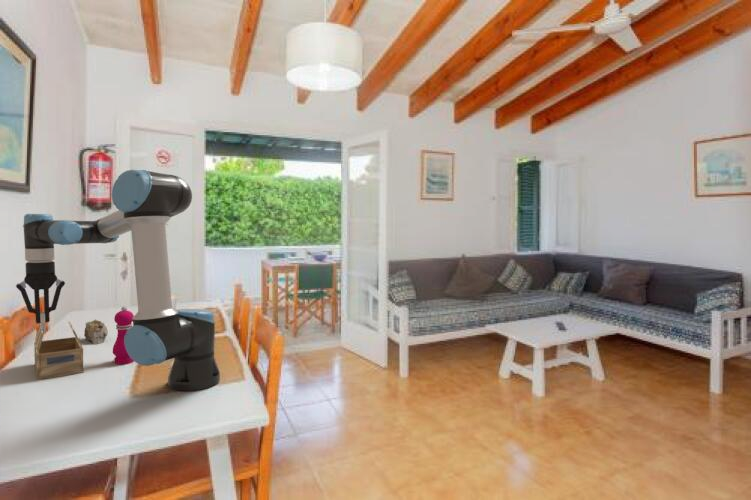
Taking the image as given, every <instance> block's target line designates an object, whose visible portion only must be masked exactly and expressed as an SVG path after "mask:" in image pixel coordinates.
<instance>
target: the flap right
mask: <svg viewBox="0 0 751 500" xmlns="http://www.w3.org/2000/svg"><path fill="white" fill-rule="evenodd" d="M67 323H68V325H69V327H70V329H71V332H73V335H74V337H76V339H77V341H78V343H79V344H80V346H82V347H83V345H82V344H81V343H82V342H81V341H80V339H79V337H78V335H77V333H76V331H75V328H74V327H73V325H72V324H71V321H68V322H67Z"/></svg>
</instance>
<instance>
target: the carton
mask: <svg viewBox="0 0 751 500" xmlns="http://www.w3.org/2000/svg"><path fill="white" fill-rule="evenodd" d="M33 343H34V345H33V346H34V369H35V374H36V380H37V381H39V380H40V379H41V380H46V379H51V378H57V377H58V378H59V377H64V376H69V375H76V374H81V373H84V347H83V345H82V346H80V344H79V343H78V341H77V339H76V337H75V336H72V337H65V338H64V337H63V338H56V339H48V340H42V343H41V346H40V350H39V352H37V347H36V342H35V341H34V342H33Z"/></svg>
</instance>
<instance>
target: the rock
mask: <svg viewBox="0 0 751 500" xmlns="http://www.w3.org/2000/svg"><path fill="white" fill-rule="evenodd" d="M83 332H84V334H83V337H84V338H85V340H87V341H89V342H91V343H92V344H93V345H98V344H101V343H103V342H104V341H105V340H106V338H107V336H108V335H109V334H108V327H107V326H106V325H105V323H103V322H102V321H101V320H98V319H94V320H92V321H87V322H86V323H85V328H84V331H83Z"/></svg>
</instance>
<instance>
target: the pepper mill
mask: <svg viewBox="0 0 751 500" xmlns="http://www.w3.org/2000/svg"><path fill="white" fill-rule="evenodd" d="M134 316H135V315H134V314H133V312H132V311H130V310H128V307H127V306H124V305H123V306H121V310H120V311H117V313H115V315H114V323H116V325H115V327H116V328H115V329H116V330H117V336H116V340H115V342H114V344H113V347H112V354H113V355H114V356H115V357H114V358H113V359H114V364H116V365H120V366H121V365H128V364H132V363H134V362H135V361H134V360H133V359H132V358H131V357H130V356H129V355H128V353H127V351H126V348H125V344H124V337H125V334H126V332H127V330H128V329H129V328H131V327H132V326H133V317H134Z"/></svg>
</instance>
